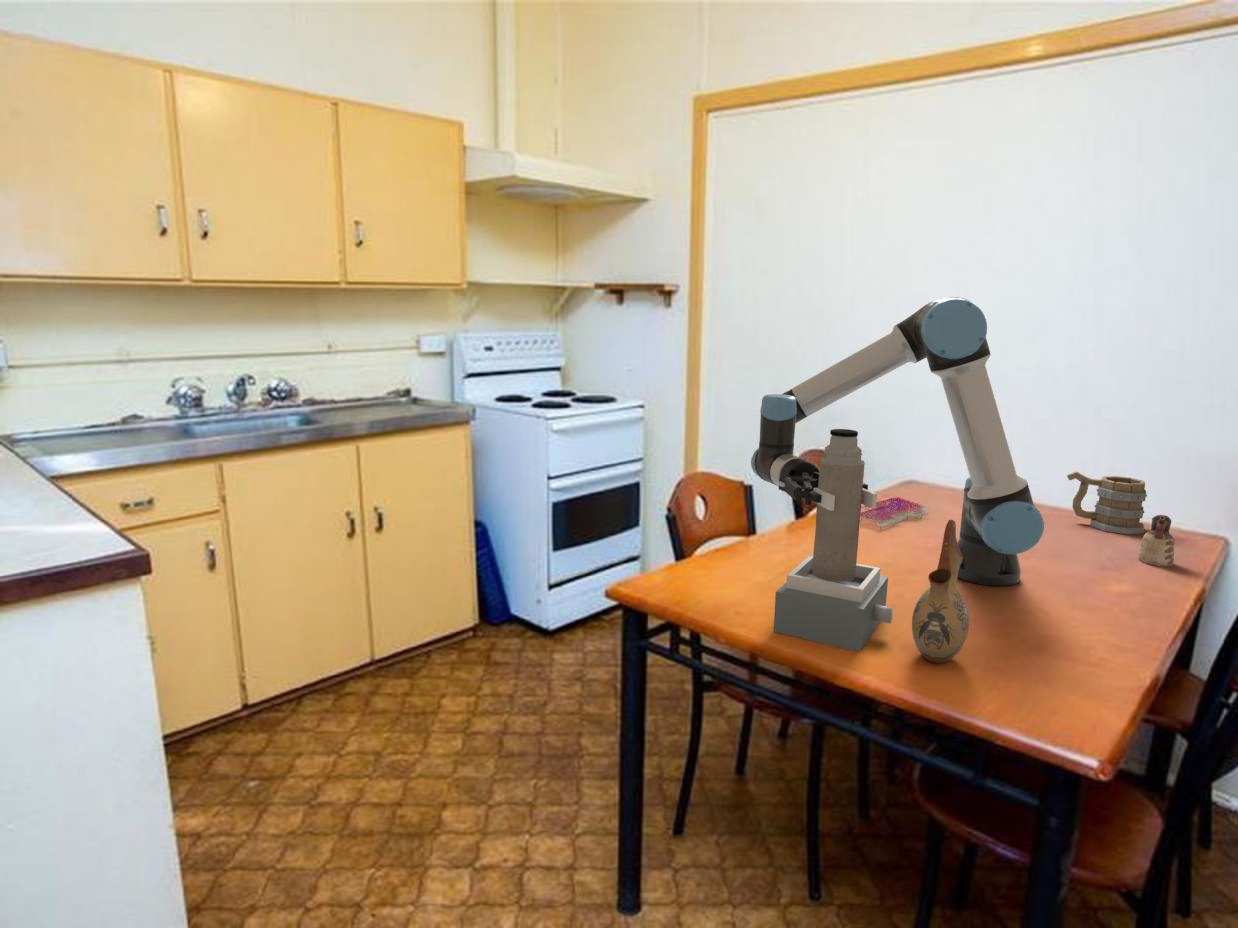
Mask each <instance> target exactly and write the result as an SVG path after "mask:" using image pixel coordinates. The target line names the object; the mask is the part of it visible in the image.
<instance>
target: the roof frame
mask: <svg viewBox="0 0 1238 928" xmlns="http://www.w3.org/2000/svg"><path fill="white" fill-rule="evenodd" d="M861 510H864V511H861V513H860V521H862V520H866V521H870V522H875V523H876V525H877V526H880V527H879V530H882V527H885V526H889V525H891V524H892V525H893V526H896V523H895V522H897V523H898V522H899V521H900V522H902V521H905V519H906V520H910V521H913V520H914V521H916V520H918V519H922V517H923V515H926V514H929V511H928V510H929V506H928V505H924V504H921V503H917V502H914V501H910V500H907V499H904V498H901V497H898V496H897V497H891V498H888V499H885V500H884V499H883V500H880V501H876V508H870V507H868V506H865V505H863V506H862V505H861ZM865 510H866V511H865ZM896 511H897V512H896ZM903 515H904V516H903ZM874 517H875V518H874ZM910 518H911V519H910ZM870 519H871V520H870ZM882 520H883V521H882Z"/></svg>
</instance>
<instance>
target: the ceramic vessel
mask: <svg viewBox="0 0 1238 928" xmlns="http://www.w3.org/2000/svg"><path fill="white" fill-rule="evenodd" d="M956 530H957V525H956V521H955V520H953V519H949V520H948V521H947V523H946V525H945V529H944V532H943V538H942V545H941V550H940V554H939V559H938V564H937V568H936V570H933V571H931V572H930V573H929V574H928V575H927V576H928V582H929V586H930V587H929V588H928V589H926V590H925V591H924V592H923V593H922V594H921V596H920V597H919V598H918V600H917V601H916V603H915V606H914V609H913V612H912V617H911V634H912V639H913V641H914V645H915V646H916V648H917V650H918V652H919V653H920V654H921V655H922V657H923V658H925V660H927V661H928V662H932V663H936V664H941V663H942V664H943V663H947V662H948V661H950V660H952V659H953V658H955V657H956V656H957V655H958V654H959V653H960V651H961V650H962V648H963V647H964V644H965V642H966V640H967V637H968V633H969V626H970V617H969V610H968V607H967V604H966V602H965V599H964V597H963V596H962V594H961V593H960V591H959V585H958V578H957V576H958V571H959V567H960V565H961V562H962V559H963V556H962V553H961V551H960V549H959V547H958V540H957V531H956Z"/></svg>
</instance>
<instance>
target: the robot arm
mask: <svg viewBox="0 0 1238 928" xmlns="http://www.w3.org/2000/svg"><path fill="white" fill-rule="evenodd" d="M987 331H988V322H987V318H986V316H985V313H984V312H983V311H982V309H981V308H980V307H979V306H978V305H977V304H975V302H972V301H970V300H968V299H966V298H962V297H958V296H948V297H945V298H939V299H934V300H932V301H929V302H928V303H926V304H925V305H923V306H922V307H921V308H919V309H918V310H917V311H915V312H914V313H913V314H911V315H909V316H908V317H907V318H905V319H904V320H902V321H900V322H899V323H897V324H895V325H893V328H892V331H891V332H890V333H888V334H886V335H885V336H883V337H881V338H880V339H877V340H876V341H874V342H872V343H870V344H869V345H867V346H865V347H864V348H861V349H860V350H858V351H856V352H855V353H853V354H851V355H849V356H847V357H846V358H843V359H842V360H840V361H839V362H836V363H835V364H833V365H831V366H829V367H828V368H826V369H824V370H823V371H821V372H819V373H817V374H815V375H813V376H811V377H809V378H807V379H806V380H805V381H802V382H800V383H799V384H797V385H795V386H793V387H792V388H790V389H789V390H787V391H785V392H784V393H774V394H765V395H763V396H762V398H761V406H760V410H759V411H760V412H759V413H760V420H759V421H760V424H759V441H758V443H759V444H758V448H757V449H755V451H754V453H753V455H752V456H751V459H750V466H751V469H752V471H753V473H754V474H755V475H756V476H758V477H759V478H760V479H761V480H763V481H764V482H767V483H770V484H773V486H774V485H775V486H776V487H778V490H779V491H782V492H784V493H785V494H787V495H788V496H789V497H790V498H792V499H793V500H794V501H797V502H800V501H802V499H804V505H806V506H811V505H812V503H814V504H816V505H817V504H818V505H820V506H822V507H824V508H826V509H828V510H830V511H834V502H835V496H834V495H832V494H830V493H827V492H825V491H823V490H820V489H819V488H818V483H819V468H818V467H817V465H815V464H814V463H813V462H810V461H808V460H806V459H803V458H802V457H799V456H796V455H794V448H795V447H794V446H795V433H796V432H795V431H796V424H797V423H799V422H800V421H803V420H804V419H806V418H808V417H809V416H811V415H814V414H815V413H816V412H819V411H820V410H822V409H824V408H826V407H828V406H830V405H831V404H833V403H835V402H837V401H839V400H841V399H842V398H845V397H846V396H848V395H850V394H851V393H854V392H855V391H857V390H859V389H861V388H864V387H865V386H867V385H869V384H870V383H872V382H874V381H876V380H879V378H881V377H884V376H885V375H888V374H889V373H891V372H893V371H895V370H896V369H898V368H900V367H902V366H903V365H906V364H907V363H913V364H917V363H919V362H920V361H923V360H925V359H926V361H927V363H928V367H929V370H930V373H932V374H934V375H935V376H937V377H939V378H940V379H941V383H942V386H943V389H944V393H945V397H946V399H947V404H948V407H949V409H950V413H951V416H952V419H953V420H952V421H953V424H954V426H955V427H954V428H955V430H956V433H957V437H958V441H959V444H960V448H961V450H962V455H963V458H964V461H965V464H966V468H967V471H968V474H969V477H967V478H966V480H965V483H964V487H963V498H962V499H963V501H962V511H961V520H960V528H959V529H960V530H959V539H958V540H957V543H958V547H959V549H960V551H961V553H962V556H963V559H962V562H961V565H960V567H959V571H958V576H957V579H960V580H962V581H965V582H969V583H972V584H973V583H974V584H979V585H983V586H984V585H985V586H994V587H995V586H997V587H1005V586H1013V585H1016V584H1018V583H1020V581H1021V574H1022V571H1021V569H1022V568H1021V566H1020V562H1019V558H1018V555H1019V554H1023V553H1025V552H1028V551H1029V550H1031V549H1033V548H1034V547H1035V546H1036V545H1037V544H1038V543H1039V542H1040V540H1041V539H1042V537H1043V535H1044V531H1045V522H1044V519H1043V515H1042V513H1041V511H1040V510H1039V509H1038V508H1037V507H1036V506H1035V504H1034V500H1033V497H1032V493H1031V491H1030V486H1029V483H1028V481H1027V479H1025V478H1023V477H1021V476H1019V475H1018V474H1017V471H1016V468H1015V464H1014V461H1013V457H1012V454H1011V451H1010V447H1009V443H1008V440H1007V437H1006V433H1005V430H1004V426H1003V423H1002V418H1001V416H1000V413H999V408H998V405H997V402H996V399H995V395H994V392H993V388H992V384H991V381H990V377H989V374H988V369H987V367H986V364H987V362H988V360H989V358H990V357H991V350H990V347H989V344H988V341H987ZM877 496H878V494H877V493H876V492H874V491H871V490H869V484H867V483H864V482H863V489H862V501H861V505H863V506H868V507H867V508H869V507H870V508H869V509H872V508H874V509H875V508H876V502H877V500H878V498H877Z"/></svg>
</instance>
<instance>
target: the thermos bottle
mask: <svg viewBox="0 0 1238 928" xmlns="http://www.w3.org/2000/svg"><path fill="white" fill-rule="evenodd" d="M829 433H830V440H829V444H828V445H826V446H825V447H824V452H823V456H822V457H821V458H820V459H819V468H818V470H819V483H818V488H819V489H820V490H823V491H825V492H827V493H830V494H832V495H834V496H835V502H834V511H830V510H828V509H826V508H824V507H822V506H820V505H818V504H816V513H815V514H816V515H815V534H814V540H813V555H812V556H813V568H812V573H813V575H814V576H816V577H817V578H820V579H823V580H827V581H833V582H847V581H851V580H853V579H854V578H855V574H856V564H857V562H858V561H857V560H858V550H859V538H860V536H859V534H860V521H861V519H860V513H861V512H862V508H861V507H862V504H861V501H862V489H863V483H864V478H865V477H864V475H865V464H866V462H865V460H863V459H862V455H863V453H862V451H863V450H862V448H861V447H859V446H858V436H859V435H858V434H859V432H858V431H857V430H853V429H850V428H849V429H846V428H835V429H830V432H829Z"/></svg>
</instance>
